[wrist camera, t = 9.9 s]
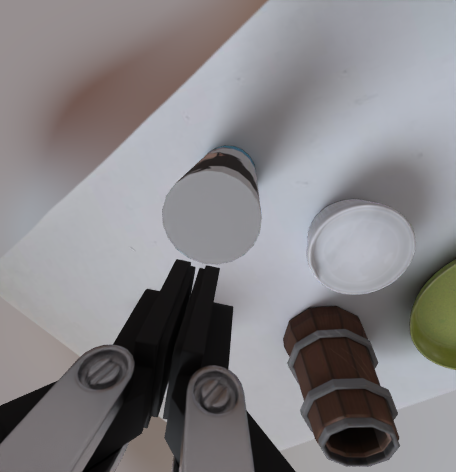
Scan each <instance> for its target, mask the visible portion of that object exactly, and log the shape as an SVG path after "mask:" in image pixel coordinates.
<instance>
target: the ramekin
mask: <svg viewBox="0 0 456 472" xmlns="http://www.w3.org/2000/svg"><path fill="white" fill-rule="evenodd" d="M415 247H416V243H415V234H414V231H413V229H412V227H411V225H410V223H409V222H408V220H407V219H406V218H405V217H404V216H403V215H402V214H401V213H399V212H398V211H396V210H395V209H393V208H391V207H389V206H387V205H384V204H381V203H376V202H369V201H366V200H361V199H348V200H342V201H339V202H336V203H334V204H331V205H330V206H328V207H326V208H325V209H323V210H322V211H321V212H320V213H319V214H318V215H317V216H316V217H315V219H314V220H313V222H312V223H311V226H310V228H309V231H308V236H307V261H308V265H309V267H310V270H311V272H312V273H313V275H314V276H315V278H316V279H317V280H318V281H319V282H320V283H321V284H322V285H324V286H325V287H327V288H328V289H330V290H333V291H335V292H338V293H342V294H350V295H359V294H367V293H371V292H375V291H378V290H380V289H382V288H385V287H387V286H389V285H390V284H391V283H393V282H394V281H395V280H397V279H398V278H399V277H400V276H401V275H402V274H403V273H404V272H405V270H406V269H407V268H408V266H409V265H410V263H411V261H412V259H413V256H414V253H415Z"/></svg>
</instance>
